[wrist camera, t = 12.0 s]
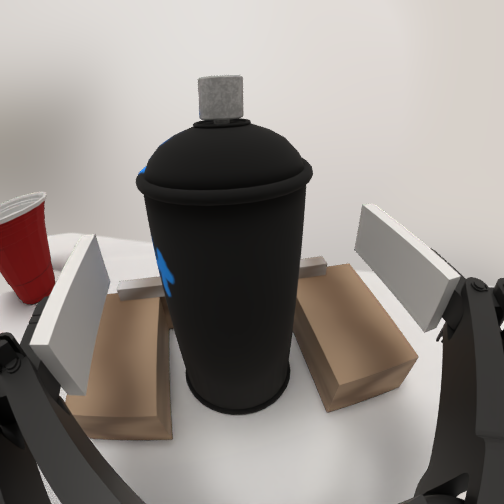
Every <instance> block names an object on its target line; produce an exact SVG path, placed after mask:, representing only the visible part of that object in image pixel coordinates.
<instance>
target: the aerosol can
mask: <svg viewBox="0 0 504 504" xmlns="http://www.w3.org/2000/svg"><path fill="white" fill-rule="evenodd" d="M198 92H199V115H200V119H201V120H204V121H199V122H196V123H194V124H193V127H191V128H189V129H187V130H184V131H182V132H180V133H178V134H176V135H174V136H173V137H171V138H170V139H168V140H167V141H165V142H164V143H163V144H161V145H160V146H159V147H158V148H157V150H156V151H155V152H154V154H153V155H152V156H151V158H150V159H149V161H148V163H147V166H146V167H145V168H144V169H142V170H141V171H140V173H139V174H138V176H137V178H136V185H137V188H138V189H139V191H140V192H141V193H142V194H144V198H145V205H146V210H147V216H148V221H149V227H150V232H151V236H152V242H153V246H154V251H155V256H156V260H157V265H158V269H159V273H160V278H161V282H162V286H163V290H164V294H165V298H166V302H167V305H168V309H169V313H170V317H171V320H172V324H173V327H174V331H175V334H176V338H177V341H178V344H179V348H180V351H181V354H182V357H183V361H184V364H185V367H186V381H187V383H188V386H189V389H190V390H191V392H192V393H193V395H194V396H195V397H196V398H197V399H198V400H199V401H200V402H201V403H202V404H204V405H206V406H207V407H209V408H211V409H213V410H216V411H219V412H221V413H227V414H247V413H252V412H256V411H258V410H261V409H263V408H266V407H267V406H269V405H270V404H272V403H273V402H275V401H276V400H277V399H278V398H279V397H280V396H281V395H282V393H283V392H284V390H285V388H286V387H287V384H288V381H289V379H290V365H289V354H290V347H291V339H292V331H293V323H294V315H295V306H296V297H297V288H298V279H299V269H300V258H301V246H302V235H303V222H304V210H305V196H306V184H307V183H308V182H309V181H310V179H311V178H312V175H313V171H312V166H311V165H310V164H309V163H308V162H307V161H306V160H305V159H303V158H301V156H300V154H299V152H298V151H297V150H296V149H295V148H294V147H293V146H292V145H291V144H290V143H289V141H288V140H287V139H286V138H284V137H283V136H281V135H279V134H277V133H275V132H274V131H272V130H270V129H267V128H264V127H261V126H257V125H254V124H251V122H250V120H248V119H240V118H241V117H243V77H242V76H240V75H224V76H223V75H222V76H209V77H201V78H199V79H198Z"/></svg>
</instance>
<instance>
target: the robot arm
mask: <svg viewBox="0 0 504 504" xmlns="http://www.w3.org/2000/svg"><path fill="white" fill-rule="evenodd" d="M354 250H355V251H356V252H357V253H358V254H359V256H360V257H361V258H362V259H363V260H364V261H365V262H366V263H367V264H368V266H369V267H370V268H371V269H372V270H373V271H374V272H375V273H376V275H377V276H378V277H379V278H380V279H381V280H382V282H383V283H384V284H385V285H386V286H387V287H388V289H389V290H390V291H391V292H392V293H393V294H394V296H395V297H396V298H397V299H398V300H399V302H400V303H401V304H402V305H403V306H404V308H405V309H406V310H407V311H408V313H409V314H410V315H411V316H412V318H413V319H414V320H415V321H416V323H417V324H418V325H419V326H420V328H421V329H422V330H423V331H424V333H425V332H427V331H430V330H432V329H435V328H436V327H437V325H438V324H439V322H440V320H441V318H443V319H444V320H445V321H446V322H445V324H444V326H443V328H442V329H441V331H440V333H439V335H438V337H437V339H436V341H439V339H440V338H441V337H442V336H443V340H442V341H441V342H442V343H443V360H442V380H441V392H440V403H439V411H438V419H437V426H436V432H435V438H434V444H433V449H432V454H431V459H430V463H429V466H428V469H427V471H426V472H425V474H424V475H423V477H422V478H421V480H420V481H419V483H418V486H417V488H416V491H415V495H414V498H411V499H409V500H406V501H404V502H401V503H399V504H504V329H503V331H502V330H501V328H500V326H501V324H502V323H503V321H504V278H500V279H498V281H497V283H496V285H495V287H494V288H489V287H488V286H487V285H486V284H485V283H484V282H483V281H481V280H479V279H477V278H473V277H470V278H467V279H465V278H464V277H463V276H462V275H461V274H460V273H459V272H458V271H457V270H456V269H455V268H454V267H453V266H451V265H450V264H449V263H447V261H446V260H445V259H444V258H441V256H440V255H439V254H438V253H437V252H436V251H434V250H433V249H431V248H429V247H428V246H427V245H425V244H424V243H423V242H422V241H421V240H419V239H418V238H417V237H416V236H415V235H413V234H412V233H411V232H410V231H409V230H407V229H406V228H405V227H403V226H402V225H401V224H400V223H399V222H397V221H396V220H395V219H393V218H392V217H391V216H390V215H388V214H387V213H386V212H384V211H383V210H382V209H380V208H379V207H378V206H376V205H375V204H363V205H362V209H361V216H360V222H359V227H358V233H357V239H356V244H355V249H354ZM109 285H110V279H109V276H108V273H107V270H106V267H105V264H104V261H103V258H102V255H101V252H100V248H99V245H98V242H97V238H96V235H95V234H90V235H84V236H81V237H80V239H79V240H78V242H77V244H76V246H75V248H74V249H73V251H72V253H71V255H70V257H69V258H68V260H67V262H66V264H65V266H64V268H63V270H62V272H61V274H60V276H59V278H58V280H57V282H56V284H55V286H54V288H53V290H52V292H51V294H50V296H46V297H44V298H43V299H42V300H41V301H40V302H39V303H38V304H37V306H36V308H35V310H34V312H33V314H32V316H33V317H31V319H30V321H29V325H28V326H27V328H26V331H25V333H24V335H23V338H22V340H21V343H20V345H19V344H18V342H17V341H16V339H15V338H14V336H13V335H12V334H11V333H8V332H6V333H1V334H0V504H51V502H50V500H49V497H48V495H47V492H46V489H45V487H44V484H43V481H42V478H41V475H40V472H39V469H38V466H39V468H40V470H41V471H42V473H43V475H44V477H45V478H46V480H47V482H48V483H49V485H50V486H51V488H52V490H53V491H54V493H55V494H56V496H57V497H58V499H59V500H60V502H61V503H62V504H146V503H145V502H143V501H142V500H141V499H140V498H139V497H138V496H137V495H136V493H135V492H134V491H133V490H132V489H131V488H130V487H129V486H128V485H127V484H126V483H125V482H124V481H123V480H122V479H121V477H120V476H119V475H118V474H117V473H116V472H115V471H114V469H113V468H112V467H111V466H110V465H109V464H108V462H107V461H106V460H105V459H104V457H103V456H102V455H101V454H100V452H99V451H98V450H97V448H96V447H95V446H94V445H93V443H92V442H91V441H90V439H89V438H88V436H87V435H86V434H85V432H84V431H83V429H82V428H81V427H80V425H79V424H78V422H77V421H76V419H75V418H74V416H73V415H72V413H71V411H70V410H69V408H68V407H67V405H66V404H65V402H64V400H63V399H62V398H61V397H60V396H59V393H60V388H61V387H62V388H63V389H64V391H65V392H66V393H67V394H68V395H78V396H86V391H87V385H88V379H89V373H90V367H91V361H92V356H93V351H94V346H95V341H96V337H97V332H98V328H99V323H100V319H101V315H102V311H103V307H104V303H105V300H106V296H107V292H108V289H109ZM37 464H38V466H37ZM465 491H467V493H466V498H465V500H463V499H460V498H457V496H458V495H459V494H461V493H463V492H465Z"/></svg>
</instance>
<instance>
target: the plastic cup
mask: <svg viewBox="0 0 504 504" xmlns="http://www.w3.org/2000/svg"><path fill="white" fill-rule="evenodd" d="M45 199H46V193H45V192H36V193H30V194H26V195H23V196H19V197H16V198H14V199H11V200H8V201H6V202H4V203H1V204H0V272H1V274H2V275H3V277H4V278H5V280H6V281H7V282H8V284H9V285H10V286H11V287H12V289H13V290H14V292H15V293H16V294H17V296H18V297H19V299H20V300H22V301H23V303H26V304H35V303H37V302H40V301H41V300H42V299H43V298H44V297H46V296H49V295H50V294H51V292H52V290H53V288H54V286H55V277H54V272H53V268H52V264H51V256H50V251H49V245H48V240H47V234H46V228H45V220H44V219H45V215H44V209H45V208H44V203H45Z"/></svg>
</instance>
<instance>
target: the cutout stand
mask: <svg viewBox="0 0 504 504" xmlns="http://www.w3.org/2000/svg"><path fill="white" fill-rule="evenodd" d="M117 292H118V293H115V294H107V296H106V300H105V303H104V307H103V311H102V315H101V319H100V323H99V328H98V332H97V337H96V341H95V346H94V351H93V356H92V361H91V367H90V373H89V379H88V385H87V391H86V396H78V395H68V394H67V396H66V402H65V404H66V405H67V407H68V408H69V410H70V411H71V413H72V415H73V416H74V418H75V419H76V421H77V422H78V424H79V425H80V427H81V428H82V429H83V431H84V432H85V434H86V435H87V436H88V437H89V438H93V439H109V440H169V439H173V437H172V423H171V405H170V380H169V329H173V328H174V327H173V324H172V320H171V317H170V313H169V309H168V305H167V302H166V298H165V294H164V290H163V286H162V282H161V278H160V277H152V278H143V279H134V280H125V281H119V283H118V287H117ZM293 332H294V334H295V337H296V339H297V342H298V344H299V346H300V349H301V351H302V353H303V356H304V358H305V361H306V363H307V365H308V368H309V370H310V373H311V375H312V377H313V380H314V382H315V385H316V387H317V390H318V392H319V394H320V397H321V399H322V402H323V404H324V406H325V409H326V411H327V412H331V411H334V410H337V409H340V408H344V407H347V406H350V405H353V404H356V403H359V402H361V401H364V400H367V399H370V398H372V397H375V396H378V395H380V394H383V393H385V392H388V391H390V390H393V389H395V388H398V387H400V385H401V384H402V382H403V381H404V379H405V378H406V376H407V375H408V373H409V371H410V370H411V368H412V367H413V365H414V364H415V362H416V360H417V359H418V355H417V354H416V352H415V351H414V349H413V348H412V346H411V345H410V344H409V342H408V341H407V339H406V338H405V337H404V335H403V334H402V332H401V331H400V330H399V328H398V327H397V325H396V324H395V323H394V321H393V320H392V319H391V317H390V316H389V315H388V313H387V312H386V311H385V309H384V308H383V307H382V305H381V304H380V303H379V301H378V300H377V299H376V297H375V296H374V295H373V293H372V292H371V291H370V289H369V288H368V287H367V286H366V284H365V283H364V282H363V281H362V279H361V278H360V277H359V275H358V274H357V273H356V272H355V270H354V269H353V268H352V267H351V265H350V264H342V265H336V266H329V267H327V262H326V261H325V260H324V258H323V257H321V256H320V257H313V258H305V259H300V269H299V279H298V288H297V297H296V306H295V315H294V323H293Z"/></svg>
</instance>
